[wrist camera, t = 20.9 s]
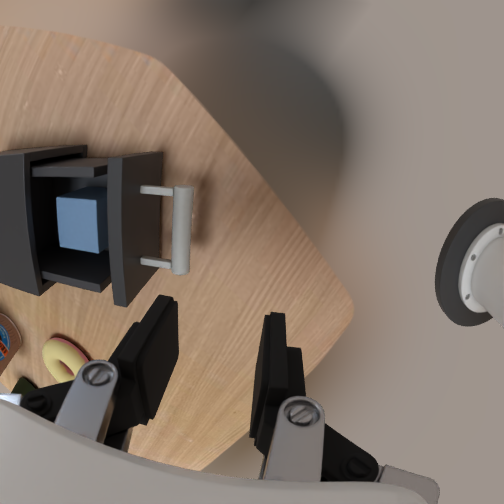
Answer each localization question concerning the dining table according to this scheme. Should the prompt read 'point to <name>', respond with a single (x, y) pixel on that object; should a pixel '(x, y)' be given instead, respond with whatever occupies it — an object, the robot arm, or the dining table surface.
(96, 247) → the block
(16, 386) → the character mug
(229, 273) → the dining table surface
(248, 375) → the dining table surface
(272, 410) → the robot arm
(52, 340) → the donut
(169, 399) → the dining table surface
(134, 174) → the dark grey drawer
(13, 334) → the coffee cup
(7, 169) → the dark grey drawer cabinet
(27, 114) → the dining table surface
